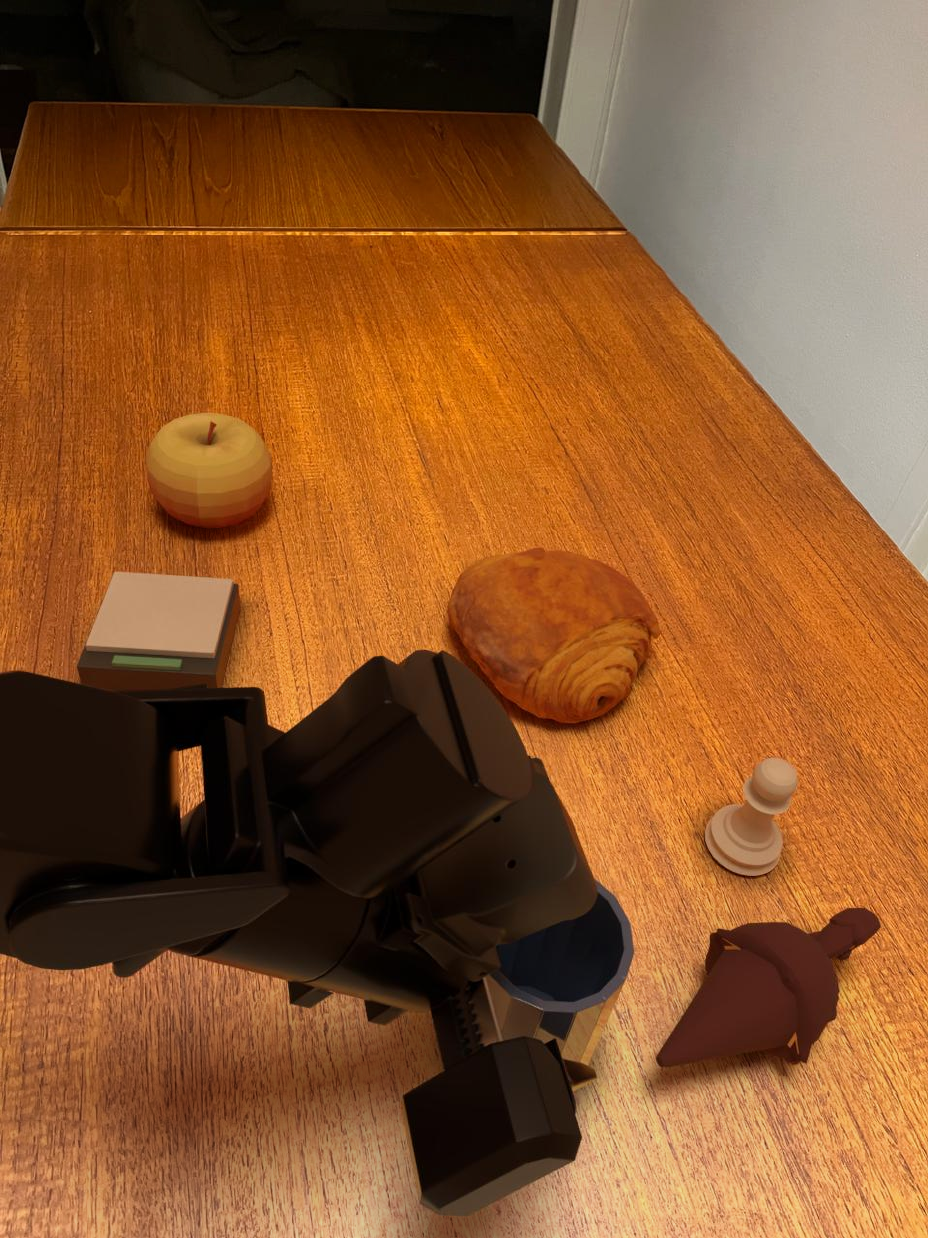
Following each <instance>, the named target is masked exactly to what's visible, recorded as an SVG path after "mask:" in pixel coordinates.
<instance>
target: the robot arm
mask: <svg viewBox="0 0 928 1238" xmlns="http://www.w3.org/2000/svg"><path fill="white" fill-rule="evenodd" d="M265 696H266V695H265V691H264V690H263V689H262V688H260V687H257V686H240V687H238V686H236V687H234V686H233V687H221V688H208V686H207V684H199V685H192V686H186V687H179V688H172V689H162V690H127V691H109V690H105V689H101V688H96V687H92V686H88V685H83V684H81V683H78V682H74V681H69V680H65V679H62V678H58V677H57V678H56V677H52V676H48V675H44V674H39V673H35V672H32V671H31V672H30V671H25V670H20V669H19V670H18V669H17V670H16V669H15V670H7V671H1V672H0V955H3V956H6V957H9V958H14V959H17V960H18V961H20V962H21V963H23V964H26V965H28V966H32V967H36V968H38V969H43V970H52V971H53V970H54V971H77V970H86V969H90V968H96V967H101V966H105V965H108V964H112V973H113V974H114V976H115V977H117V978H121V979H126V978H130V977H132V976H134V975H135V974H137V973H138V972H140V971H141V970H142V969H144V968H146V967H147V966H148V965H149V964H150V963H152V962H153V961H155V960H156V959H157V958H159V957H160V956H161V955H162V954H164V953H166V952H167V951H169V952H171V953H174V954H177V955H181V956H186V957H189V958H192V959H193V958H194V959H197V960H202V961H206V962H210V963H214V964H218V965H222V966H227V967H231V968H233V969H238V970H241V971H242V970H243V971H246V972H251V973H254V974H258V975H262V976H267V977H270V978H273V979H279V980H282V981H286V982H287V990H288V998H289V1004H290V1005H293V1006H297V1007H301V1008H305V1009H312V1008H314V1007H315V1006H317V1005H318V1004H320V1003H321V1002H323V1001H324V1000H326V999H328V998H329V997H330V996H332V995H334V994H335V993H336V994H339V995H344V996H347V997H352V998H355V999H359V1000H363V1003H364V1009H365V1014H366V1021H367V1023H371V1024H376V1025H381V1026H387V1025H388V1024H391V1023H392V1022H393V1021H395V1020H397V1019H398V1018H399V1017H402V1016H403V1015H405V1014H406V1013H408V1012H413V1013H417V1014H419V1013H420V1014H423V1013H430V1014H431V1018H432V1019H431V1020H432V1023H433V1027H434V1032H435V1036H436V1041H437V1046H438V1049H439V1055H440V1058H441V1062H442V1067H443V1071H441V1072H439V1073H438V1074H436V1075H434V1076H432V1077H431V1078H429V1079H428V1080H425V1081H424V1082H422V1083H420V1084H419V1085H417V1086H415V1087H414V1088H412V1089H411V1090H409V1091H407V1092H405V1093H404V1094H402V1098H401V1112H402V1119H403V1123H404V1128H405V1129H404V1130H405V1134H406V1140H407V1143H408V1149H409V1154H410V1155H409V1156H410V1161H411V1165H412V1170H413V1176H414V1181H415V1186H416V1193H417V1198H418V1202H419V1205H421V1206H422V1207H424V1208H426V1209H427V1210H429V1211H431V1212H433V1213H434V1214H435V1215H438V1216H448V1217H469V1216H470V1215H473V1214H474V1213H476V1212H478V1211H480V1210H482V1209H484V1208H486V1207H488V1206H490V1205H492V1204H493V1203H496V1202H497V1201H500V1200H502V1199H504V1198H505V1197H507V1196H509V1195H512V1194H514V1193H515V1192H517V1191H519V1190H521V1189H523V1188H525V1187H527V1186H529V1185H531V1184H532V1183H535V1182H536V1181H538V1180H540V1179H542V1178H544V1177H546V1176H548V1175H550V1174H552V1173H553V1172H556V1171H558V1170H560V1169H561V1168H564V1167H565V1166H567V1165H569V1164H572V1163H573V1162H575V1161H576V1159H577V1155H578V1153H579V1150H580V1146H581V1143H582V1139H583V1134H582V1131H581V1128H580V1125H579V1121H578V1119H577V1116H576V1115H577V1107H578V1106H577V1100H576V1096H575V1091H577V1090H579V1089H581V1088H583V1087H585V1086H587V1085H588V1084H590V1083H592V1082H594V1081H596V1080H597V1079H598V1075H597V1072H596V1070H595V1068H593V1067H591V1066H589V1064H588V1065H586V1064H584V1063H581V1062H576V1061H571V1060H566V1059H563V1058H562V1055H561V1052H560V1048H559V1045H558V1042H557V1039H556V1038H554V1039H552V1040H550V1041H549V1042H547V1043H545V1044H544V1043H543V1042H542V1040H539V1039H535V1038H531V1037H527V1036H522V1037H517V1038H513V1039H508V1040H504V1039H503V1035H502V1031H501V1028H500V1024H499V1020H498V1017H497V1013H496V1009H495V1006H494V1002H493V999H492V995H491V991H490V988H489V984H488V980H487V977H486V976H487V975H489V974H490V973H492V972H494V971H495V970H497V969H499V968H500V967H501V964H500V960H499V957H498V954H497V950H496V947H495V946H497V945H498V944H500V945H501V944H507V943H510V942H513V941H515V940H518V939H520V938H523V937H525V936H527V935H530V934H532V933H535V932H537V931H540V930H542V929H545V928H547V927H549V926H552V925H554V924H557V923H559V922H562V921H565V920H573V919H575V918H578V917H580V916H582V915H584V914H586V913H587V912H588V911H589V910H590V909H591V908H592V907H593V905H594V904H595V902H596V899H597V893H598V890H597V885H596V881H595V879H596V878H595V877H594V873H593V871H592V869H591V866H590V864H589V862H588V859H587V857H586V854H585V851H584V848H583V846H582V843H581V840H580V838H579V835H578V832H577V830H576V826H575V823H574V821H573V819H572V817H571V815H570V814H569V812H568V810H567V809H566V807H565V805H564V803H563V801H562V800H561V798H560V796H559V794H558V792H557V791H556V788H555V787H554V785H553V784H552V782H551V780H550V777H549V774H548V772H547V769H546V767H545V764H544V762H543V760H542V759H541V758H539V757H531V755H530V754H529V755H528V751H527V749H526V746H525V744H524V742H523V740H522V737H521V736H520V734H519V731H518V730H517V727H516V726H515V724H514V723H513V721H512V719H511V718H510V716H509V714H508V713H507V710H506V709H505V707H504V706H503V705H502V703H501V702H500V701H499V699H498V698H497V697H496V695H495V694H494V693H493V692H492V690H491V689H490V688H489V687H488V686H487V685H486V684H485V683H484V681H483V680H482V679H481V678H480V677H479V676H478V675H477V674H476V673H475V672H474V671H472V669H470V667H468V666H467V665H466V664H465V663H463V662H462V661H461V660H459V658H457V657H456V656H454V655H453V654H450V653H449V652H447V650H444V649H441V650H440V651H439V652H437V651H436V652H435V651H433V650H428V649H416V650H414V651H413V652H412V653H410V654H409V655H408V656H406V658H404V659H403V660H401V661H400V662H399V663H396V662H394V661H393V660H392V659H389V658H387V657H386V656H384V655H375V656H372V657H370V659H368V660H367V661H366V662H364V663H363V664H361V665H360V667H358V668H357V669H356V670H355V671H353V672H352V673H351V674H349V675H348V676H347V678H346V679H344V681H343V682H342V683H341V684H340V686H339V687H338V688H337V690H336V691H335V692H333V694H332V695H331V696H329V697H328V698H327V699H326V700H325V701H324V702H322V703H321V704H320V705H319V706H317V707H316V708H315V709H314V710H312V711H311V712H310V713H309V714H307V715H306V716H305V717H303V718H302V719H301V720H299V721H298V722H297V723H296V724H294V726H292V727H291V728H290V729H289V730H287V731H286V732H285V731H282V730H281V729H279V728H277V727H275V726H272V725H271V724H269V720H268V719H269V718H268V712H267V703H266V697H265ZM197 747H200V753H201V754H200V755H201V770H202V783H203V784H202V785H203V800H202V801H200V802H199V803H197V805H195V806H194V807H192V808H191V810H189V811H188V812H187V813H185V814H184V815H182V814H181V798H180V797H181V796H180V794H181V793H180V777H179V776H180V773H179V772H180V771H179V752H181V751H182V752H183V751H187V750H189V749H193V748H197ZM181 815H182V816H181ZM594 878H595V879H594ZM573 1091H574V1092H573Z"/></svg>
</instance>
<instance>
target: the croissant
mask: <svg viewBox="0 0 928 1238" xmlns="http://www.w3.org/2000/svg"><path fill="white" fill-rule="evenodd" d="M456 581H457V582H456V583H455V585H454V587H453V589H452V590H451V594H450V598H449V600H448V602H447V603H448V604H447V608H446V613H447V617H448V621H449V624H450V625H451V627H452V628H453V629H454V631H455V632H456V633H457V635H458V637H459V638H460V641H461V643H462V644H463V646H464V647H465V649H466V650H467V651H468V653H469V656H470V659H472V660H473V661H474V662H475V663H477V665H478V666H479V669H480V670H481V671H482V672H483V674H484V675H485V676H486V677H487V678H488V679H489V681H490V682H491V683H493V685H494V688H495V689H496V690H497V691H498V692H499V693H500V694H501V695H502V696H503V697H505V698H506V699H507V700H508V701H511V702H513V703H515V705H516V706H518V707H519V708H520V709H522V710H524V711H526V712H528V713H531V714H532V715H534V716H536V718H540V719H550V720H554V721H556V722H558V723H565V724H577V723H579V722H584V721H589V720H592V719H596V718H599V717H602V716H603V715H605V714H607V712H608V711H610V710H611V709H613V708H615V707H616V706H617V705H618V704H619V703H620V702H621V701H622V700H623V699H626V698H627V697H629V695H630V692H631V689H630V688H631V685H632V684H633V682H634V680H635V679H636V677H637V675H638V671H639V670H640V667H641V665H642V664H643V663H644V662H646V661H647V658H649V657H652V654H651V650H652V649H653V648H652V638H653V639H654V640H657V639H658V638H659V637H660V636H661V629H660V625H659V622H658V621H659V620H658V618H657V616H656V614H655V612H654V610H653V609H652V607H651V605H650V604H649V601H648V600H647V599H646V598H645V596H644V595H643V593H642V591H641V590H640V589H639V588H638V587H637V585H636V584H635V583H634V582H633V581H632V580H631V579H629V578H628V577H627V576H626V575H624V574H623V573H621V572H620V571H619V570H617V569H616V568H614V567H612V566H611V565H609V564H607V563H605V562H603V561H601V560H598V559H595V558H590V557H588V556H587V555H584V554H581V553H574V552H571V551H568V550H565V551H564V550H556V549H555V550H546V549H545V547H533V548H531V549H527V550H523V551H520V552H509V553H505V554H497V555H492V556H488V557H483V558H481V559H479V560H476V561H474V562H472V563H470V565H468V567H467V568H465V569H464V570H463V571H462V573H460V574H459V576H458V578H457V580H456Z"/></svg>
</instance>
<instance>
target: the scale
mask: <svg viewBox="0 0 928 1238" xmlns="http://www.w3.org/2000/svg"><path fill="white" fill-rule="evenodd" d="M239 586H240V585H239V584H238V583H234V579H233V578H221V577H208V576H207V577H205V576H191V575H177V574H162V573H161V574H160V573H145V572H131V571H114V572H113V574H112V576H111V578H110V581H109V582H108V586H107V588H106V591H105V593H104V596H103V598H102V601H101V603H100V606H99V609H98V611H97V613H96V616H95V618H94V621H93V624H92V626H91V629H90V631H89V634H88V636H87V639H86V641H85V644H84V647H83V650H82V652H81V655H80V656H79V660H78V663H77V665H76V670H77V673H78V676H79V680H80V684H83V685H88V686H92V687H96V688H101V689H105V690H109V691H127V690H162V689H172V688H179V687H186V686H192V685H199V684H207V686H208V688H222V686H223V682H224V677H225V674H226V669H227V665H228V661H229V657H230V652H231V648H232V644H233V640H234V636H235V633H236V628H237V624H238V619H239V615H240V612H241V608H242V607H241V597H240V588H239Z"/></svg>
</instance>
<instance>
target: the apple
mask: <svg viewBox="0 0 928 1238" xmlns="http://www.w3.org/2000/svg"><path fill="white" fill-rule="evenodd" d="M272 458H273V457H272V453H271V452H270V450H269V448H268V446H267V445H266V443H265V442H264V440H263V439H262V437H261V435H260V434H259V432H258V431H257V430H256V429H254V428H253V427H252V426H251V425H249V424H248V423H246V422H245V421H243V420H242V419H240V418H237V417H235V416H231V415H228V414H226V413H216V412H200V413H189V414H185V415H183V416H180V417H177V418H174V419H172V420H171V421H170V422H168V423H166V424H165V425H164V426H162V427H161V428H160V429H159V430H158V431H157V432H156V434H155V436H154V437H153V439H152V441H151V442H150V444H149V446H148V448H147V451H146V453H145V468H146V477H147V479H146V480H147V484H148V488H149V492H150V493H151V494H152V496H153V497H154V499H156V500H157V501H156V502H158V503H159V504H160V506H161V507H162V508H163V509H164V510H165V512H166V513H167V514H168V515H170V516H171V517H173V518H175V519H177V520H179V521H180V522H183V523H184V524H186V525H188V526H193V527H198V528H204V529H220V528H225V527H230V526H234V525H238V524H240V523H242V522H244V521H245V520H246V519H247V520H248V518H250V517H252V516H253V515H254V514H256V513H257V512H258V510H259V509H260V508H261V507H262V505H263V504H264V503H265V501H266V499H267V498H268V496H269V494H270V493H271V491H272V482H273V468H274V467H273V466H274V465H273V459H272Z"/></svg>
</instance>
